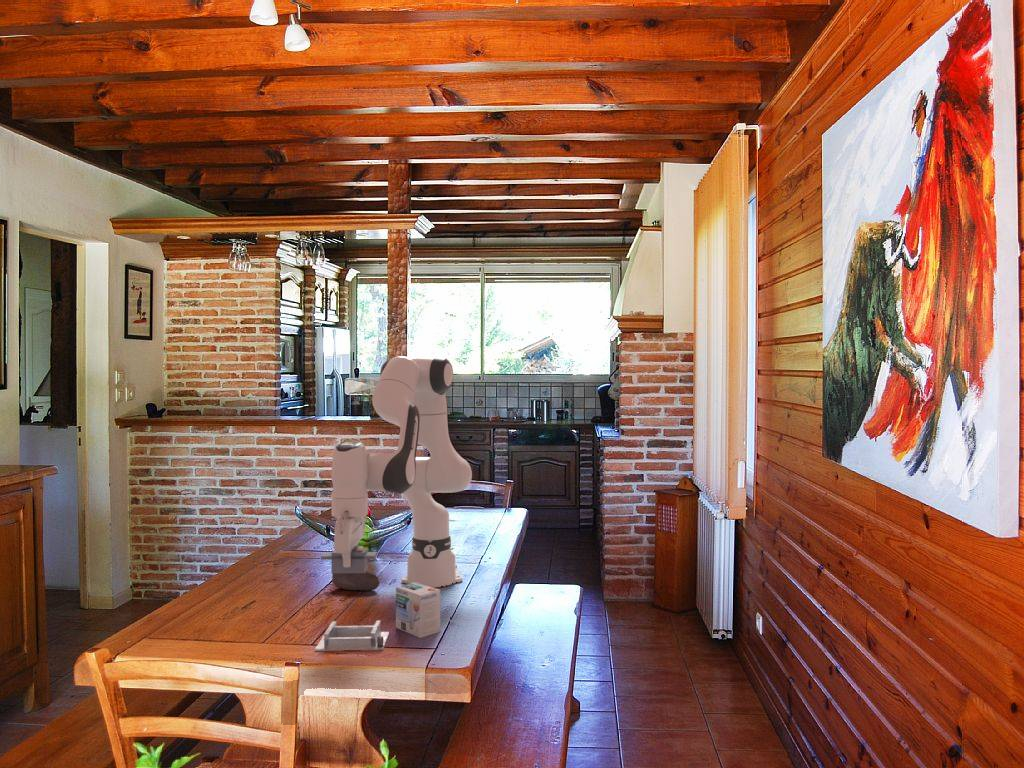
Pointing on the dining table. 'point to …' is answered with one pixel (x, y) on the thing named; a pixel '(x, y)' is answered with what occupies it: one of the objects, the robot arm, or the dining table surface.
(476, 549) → the dining table surface
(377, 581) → the perforated stone tool
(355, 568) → the servo
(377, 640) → the chassis
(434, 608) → the light bulb box
